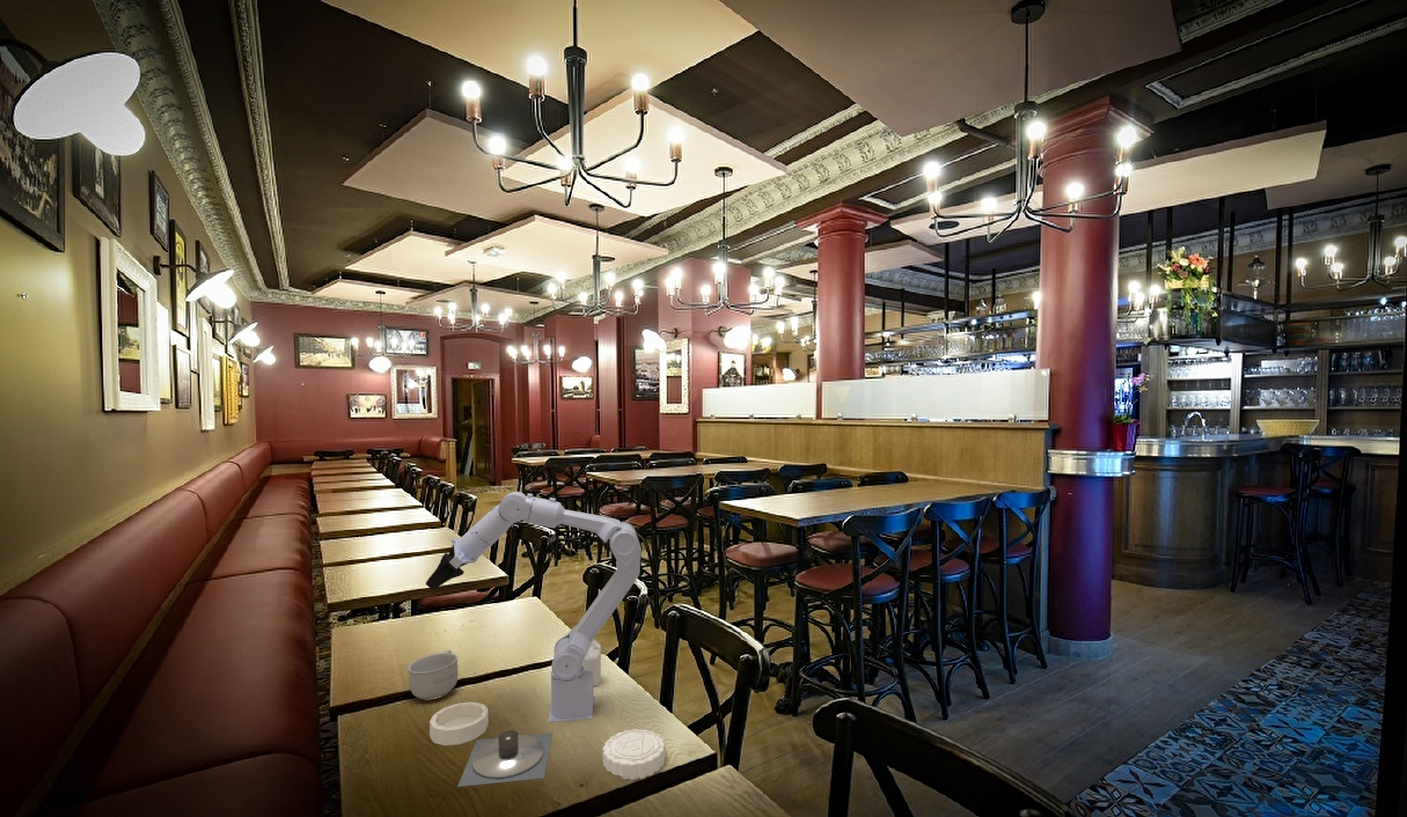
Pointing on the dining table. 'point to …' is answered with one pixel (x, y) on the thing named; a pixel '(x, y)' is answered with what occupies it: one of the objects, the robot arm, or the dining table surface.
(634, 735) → the mooncake
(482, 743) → the slate mat
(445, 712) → the cream dish
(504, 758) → the steel lid
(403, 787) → the dining table surface
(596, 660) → the roll
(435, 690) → the teacup
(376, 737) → the dining table surface
